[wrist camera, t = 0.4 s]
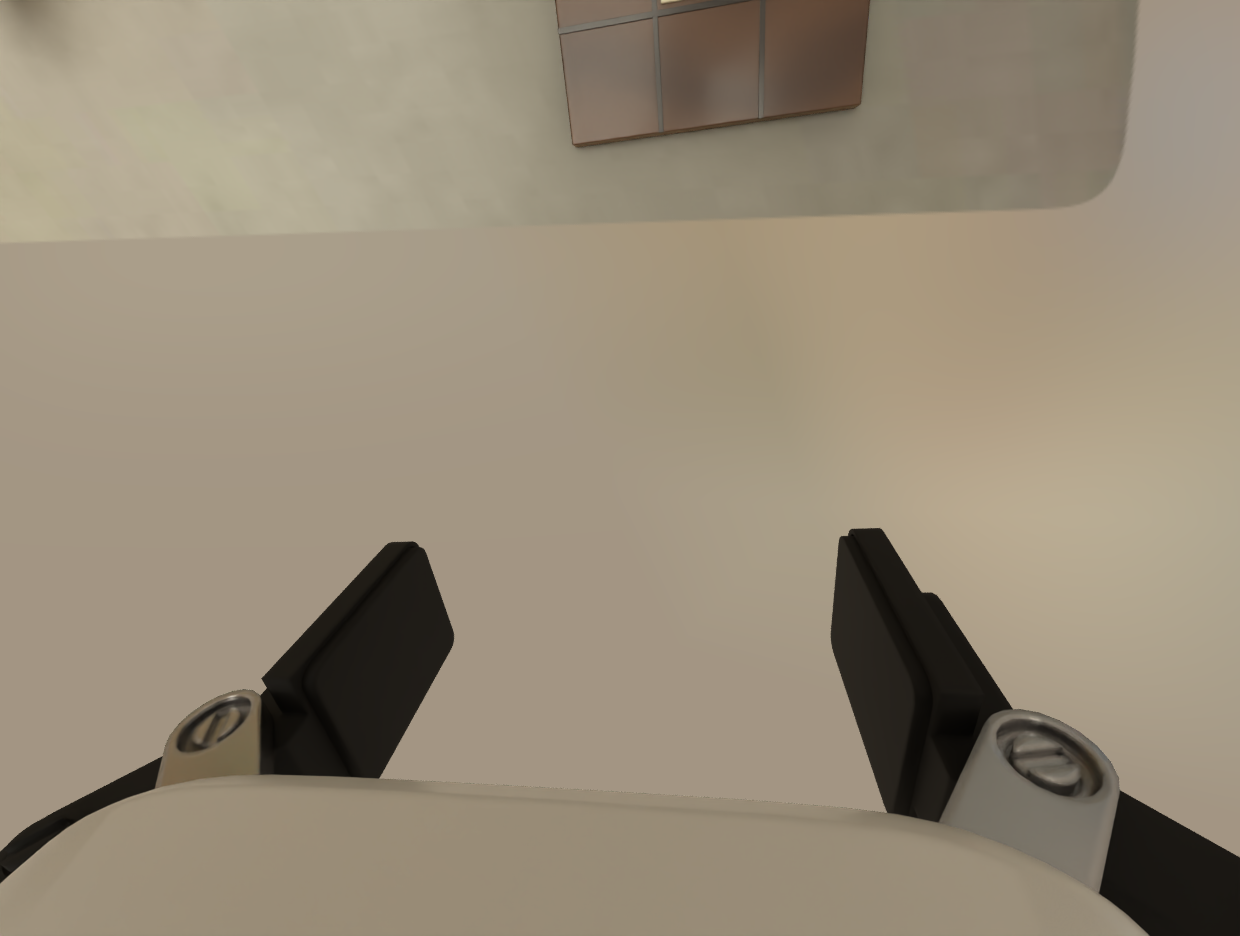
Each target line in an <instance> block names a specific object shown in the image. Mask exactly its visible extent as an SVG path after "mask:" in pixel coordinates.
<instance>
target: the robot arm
mask: <svg viewBox="0 0 1240 936" xmlns="http://www.w3.org/2000/svg"><path fill="white" fill-rule="evenodd" d="M453 642H454V632H453V629H452V626H451V623H450V620H449V618H448V615H447V612H446V609H445V606H444V603H443V600H442V598H441V595H440V592H439V589H438V586H437V583H436V580H435V577H434V574H433V571H432V569H431V566H430V563H429V560H428V557H427V554H426V552H425V550H424V549H423V548H421V547H419V546H418V544H417V543H415V542H391V543H388V544H387V545H386V546H385V547H384V548H383V549H382V550H381V551H380V552H379V553H378V554H377V556H376V557H374V558H373V560H372V561H371V562H370V563H369V564H368V565H367V566H366V567H365V568H364V569H363V570H362V571H361V572H360V574H359V575H358V576H357V577H356V578H355V579H354V580H353V581H352V582H351V583H350V584H349V585H348V586H347V588H345V590H344V591H343V592H342V593H341V594H340V595H339V596H338V597H337V598H336V599H335V600H334V601H333V602H332V604H331V605H330V606H329V607H328V608H327V609H326V610H325V611H324V612H323V613H322V614H321V615H320V616H319V618H318V619H317V620H316V621H315V622H314V623H313V624H312V625H311V626H310V627H309V628H308V629H307V630H306V631H305V632H304V634H303V635H302V636H301V637H300V638H299V639H298V640H297V641H296V642H295V643H294V644H293V645H292V646H291V647H290V649H289V650H288V651H287V652H286V653H285V654H284V655H283V656H282V657H281V658H280V659H279V660H278V661H277V662H276V664H275V665H274V666H273V667H272V668H271V669H270V670H269V671H268V672H267V673H266V674H265V676H263V677H262V680H263V682H264V684H265V685H266V687H267V689H266V690H265V691H264V692H263V693H262V694H261V695H259V694H258V693H256V692H255V691H253V690H246V689H243V690H237V691H232V692H229V693H226V694H223V695H220V696H218V697H216V698H214V699H212V700H210V701H208V702H206V703H205V704H203V705H202V706H200V707H199V708H197V709H196V710H194V711H193V712H192V713H190V714H189V715H188V716H187V717H186V718H185V719H184V720H183V721H181V723H179V724H178V726H177V727H176V728H175V729H174V731H173V732H172V733H171V734H170V736H169V738H168V740H167V743H166V745H165V749H164V753H163V756H162V757H160V758H158V759H156V760H154V761H152V762H150V763H148V764H147V765H145V766H143V767H141V768H139V769H137V770H135V771H133V772H131V773H129V774H127V775H125V776H123V777H121V778H119V779H117V780H116V781H114V782H112V783H110V784H108V785H106V786H104V787H102V788H100V789H98V790H96V791H94V792H92V793H90V794H89V795H86V796H84V797H82V798H81V799H79V800H77V801H75V802H73V803H71V804H69V805H67V806H65V807H63V808H61V809H59V810H57V811H56V812H53V813H52V814H50V815H48V816H46V817H45V818H43V819H41V820H40V821H37V822H36V823H34V824H32V825H31V826H29V827H28V828H26V829H25V830H23V831H22V832H21V833H19V834H18V835H17V836H16V837H15V838H14V839H13V840H12V841H11V842H10V843H9V844H8V845H7V846H6V847H5V848H4V849H3V850H2V851H0V936H1240V857H1238V856H1236V855H1234V854H1233V853H1231V852H1229V851H1227V850H1226V849H1224V848H1222V847H1220V846H1218V845H1216V844H1215V843H1213V842H1211V841H1209V840H1208V839H1206V838H1204V837H1202V836H1201V835H1199V834H1197V833H1195V832H1193V831H1192V830H1190V829H1188V828H1186V827H1184V826H1183V825H1181V824H1179V823H1177V822H1176V821H1174V820H1172V819H1170V818H1168V817H1167V816H1165V815H1163V814H1161V813H1159V812H1158V811H1156V810H1154V809H1152V808H1150V807H1149V806H1147V805H1145V804H1143V803H1142V802H1140V801H1138V800H1136V799H1134V798H1133V797H1131V796H1129V795H1127V794H1126V793H1124V792H1122V791H1120V789H1119V777H1118V775H1117V774H1116V771H1115V769H1114V768H1113V765H1112V764H1111V761H1110V760H1109V759H1108V758H1107V757H1106V756H1105V754H1104V753H1103V752H1102V751H1101V750H1100V749H1099V748H1098V747H1097V746H1096V745H1095V744H1094V743H1093V742H1092V741H1090V740H1089V739H1088V738H1086V737H1085V736H1084V735H1083V734H1082V733H1080V732H1079V731H1077V730H1075V729H1074V728H1072V727H1070V726H1068V725H1067V724H1065V723H1063V722H1061V721H1060V720H1057V719H1054V718H1052V717H1049V716H1046V715H1044V714H1041V713H1038V712H1033V711H1026V710H1021V709H1014V710H1013V709H1012V707H1011V706H1010V704H1009V702H1008V701H1007V700H1006V698H1005V696H1004V695H1003V693H1002V692H1001V691H1000V689H999V687H998V686H997V684H996V683H995V681H994V680H993V678H992V677H991V675H990V674H989V672H988V671H987V669H986V668H985V666H984V665H983V664H982V662H981V660H980V659H979V657H978V656H977V654H976V653H975V651H974V650H973V648H972V646H971V645H970V644H969V642H968V640H967V639H966V637H965V636H964V634H963V633H962V631H961V630H960V628H959V627H958V625H957V624H956V622H955V621H954V619H953V618H952V617H951V615H950V613H949V612H948V610H947V609H946V607H945V606H944V604H943V603H942V601H941V600H940V599H939V598H938V596H937V595H935V594H933V593H922V592H921V591H920V590H919V588H918V586H917V585H916V583H915V581H914V580H913V578H912V576H911V575H910V573H909V572H908V570H907V568H906V567H905V565H904V564H903V562H902V560H901V559H900V557H899V556H898V554H897V552H896V551H895V549H894V548H893V546H892V544H891V543H890V541H889V539H888V538H887V537H886V535H885V533H884V532H883V530H882V529H880V528H868V529H851V530H850V531H849V533H848V536H841V537H840V539H839V545H838V557H837V568H836V580H835V591H834V603H833V614H832V625H831V644H832V649H833V653H834V656H835V659H836V662H837V665H838V667H839V671H840V673H841V677H842V680H843V683H844V686H845V689H846V692H847V694H848V697H849V700H850V704H851V707H852V710H853V713H854V716H855V719H856V722H857V725H858V728H859V731H860V734H861V737H862V740H863V742H864V746H865V749H866V752H867V755H868V758H869V761H870V764H871V767H872V770H873V773H874V776H875V779H876V782H877V785H878V788H879V791H880V794H881V797H882V800H883V803H884V806H885V808H886V811H887V813H883V812H875V811H867V810H860V809H859V810H858V809H852V808H843V807H830V806H818V805H806V804H792V803H781V802H768V801H755V800H742V799H726V798H710V797H693V796H677V795H661V794H646V793H630V792H614V791H597V790H579V789H562V788H545V787H526V786H509V785H492V784H491V785H490V784H474V783H473V784H472V783H456V782H436V781H414V780H396V779H379V778H380V776H381V774H382V773H383V771H384V769H385V767H386V765H387V764H388V762H389V760H390V758H391V756H392V755H393V753H394V751H395V749H396V747H397V745H398V744H399V742H400V740H401V738H402V736H403V735H404V733H405V731H406V729H407V728H408V726H409V724H410V722H411V720H412V719H413V717H414V715H415V713H416V711H417V710H418V708H419V706H420V704H421V702H422V701H423V699H424V697H425V695H426V693H427V691H428V690H429V688H430V686H431V684H432V683H433V681H434V679H435V677H436V675H437V674H438V672H439V670H440V668H441V666H442V664H443V663H444V661H445V659H446V657H447V656H448V654H449V652H450V650H451V648H452V646H453Z"/></svg>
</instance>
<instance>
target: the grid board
mask: <svg viewBox="0 0 1240 936" xmlns="http://www.w3.org/2000/svg"><path fill="white" fill-rule="evenodd" d="M555 3H556V12H557V20H558V33H559V36H560V45H561V53H562V61H563V70H564V78H565V86H566V94H567V103H568V111H569V119H570V127H571V136H572V144H573V145H574V146H575V147H583V146H590V145H597V144H605V143H612V142H619V141H626V140H633V139H640V138H647V137H654V136H661V135H668V134H675V133H683V132H690V131H697V130H704V129H711V128H718V127H725V126H732V125H739V124H746V123H753V122H761V121H768V120H775V119H782V118H789V117H796V116H803V115H810V114H817V113H824V112H831V111H839V110H846V109H853V108H855V107H857V106H858V105H860V104H861V95H862V84H863V72H864V61H865V50H866V39H867V27H868V16H869V5H870V0H555Z"/></svg>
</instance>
